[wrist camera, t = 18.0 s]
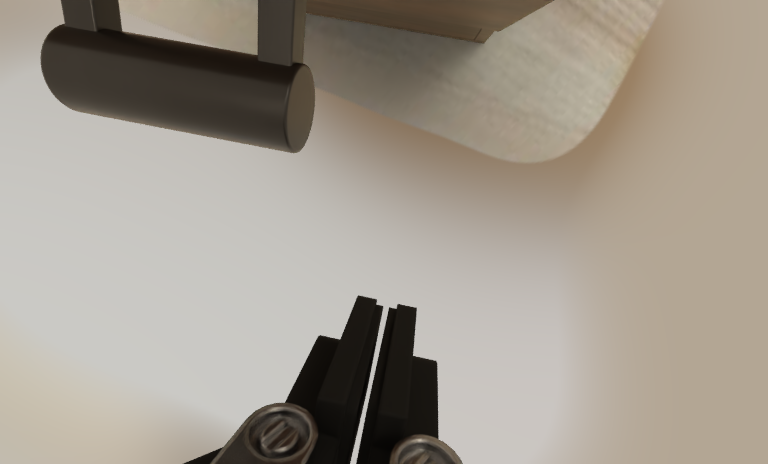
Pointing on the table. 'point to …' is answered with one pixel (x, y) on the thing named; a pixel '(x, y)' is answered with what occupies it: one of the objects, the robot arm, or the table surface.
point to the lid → (218, 68)
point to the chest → (398, 21)
